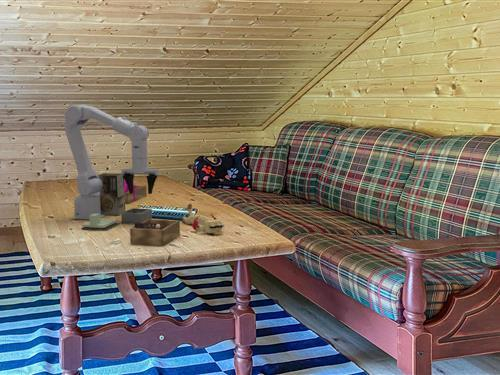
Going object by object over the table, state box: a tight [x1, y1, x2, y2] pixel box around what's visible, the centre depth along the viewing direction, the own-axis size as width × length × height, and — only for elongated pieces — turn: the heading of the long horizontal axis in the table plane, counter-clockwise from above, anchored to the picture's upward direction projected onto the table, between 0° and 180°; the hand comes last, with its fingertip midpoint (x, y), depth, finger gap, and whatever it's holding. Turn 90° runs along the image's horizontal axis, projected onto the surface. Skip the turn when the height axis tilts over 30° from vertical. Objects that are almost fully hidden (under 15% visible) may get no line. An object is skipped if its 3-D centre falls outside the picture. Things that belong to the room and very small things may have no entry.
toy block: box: [124, 180, 136, 202], centre depth 281 cm, size 15×6×8 cm, turn 22°
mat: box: [81, 222, 122, 231], centre depth 225 cm, size 10×11×1 cm
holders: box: [125, 184, 181, 247], centre depth 244 cm, size 21×104×5 cm, turn 17°
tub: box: [120, 207, 153, 225], centre depth 234 cm, size 8×10×4 cm
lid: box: [82, 214, 119, 228], centre depth 224 cm, size 9×11×5 cm
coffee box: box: [97, 172, 126, 216], centre depth 248 cm, size 9×6×16 cm
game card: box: [133, 223, 161, 230], centre depth 201 cm, size 7×5×9 cm
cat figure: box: [181, 203, 225, 235], centre depth 220 cm, size 10×9×25 cm
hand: (140, 193), depth 234 cm, fingers open, 7 cm apart
